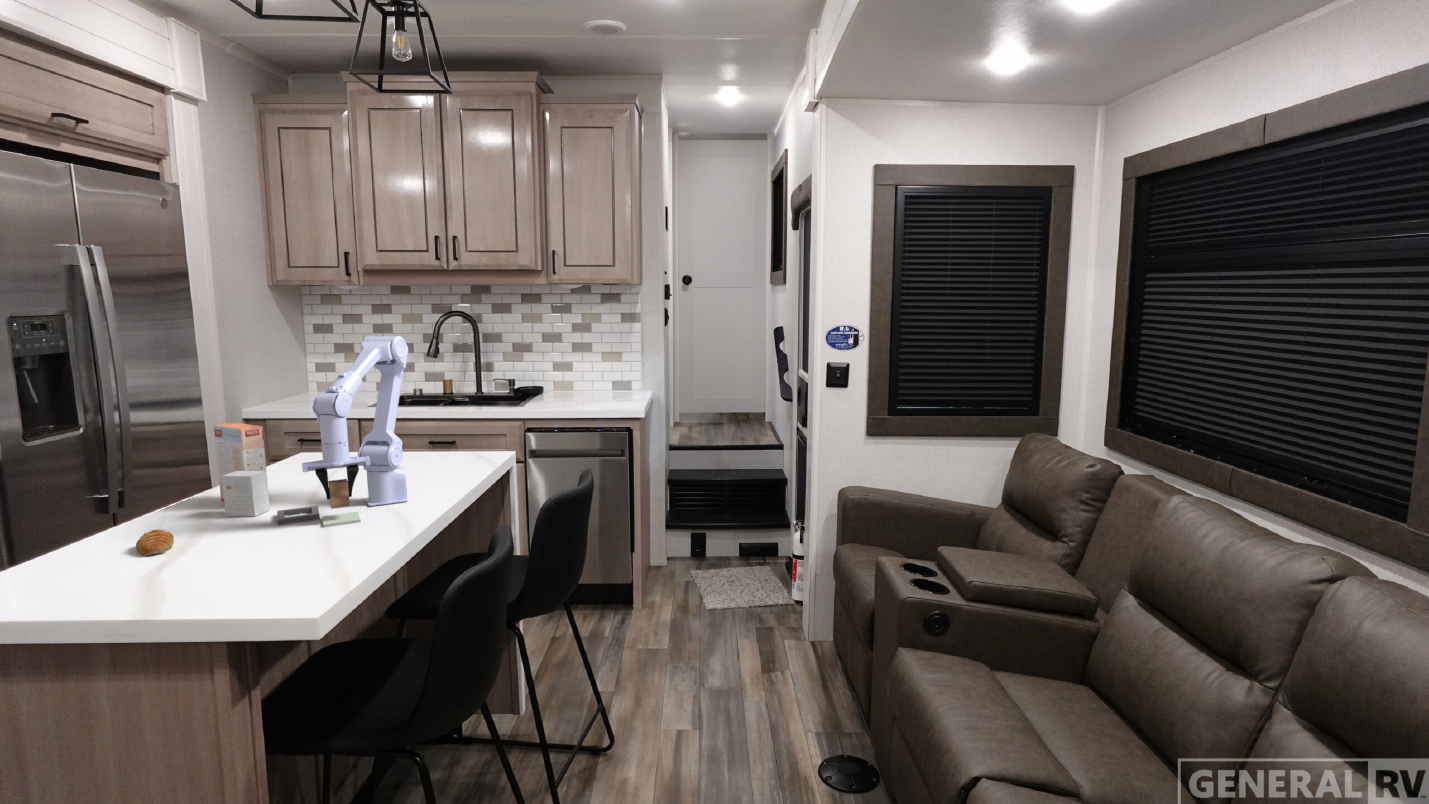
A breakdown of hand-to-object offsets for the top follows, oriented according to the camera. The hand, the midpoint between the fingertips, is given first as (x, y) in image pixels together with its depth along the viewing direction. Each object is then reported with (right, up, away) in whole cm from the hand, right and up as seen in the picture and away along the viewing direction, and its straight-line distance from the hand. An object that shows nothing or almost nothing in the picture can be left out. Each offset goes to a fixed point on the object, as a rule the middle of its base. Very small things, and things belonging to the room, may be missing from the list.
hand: (339, 497), depth 182 cm
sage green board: (0, -6, +1) cm, 6 cm away
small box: (-27, -5, +7) cm, 28 cm away
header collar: (-12, -5, +4) cm, 14 cm away
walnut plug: (0, -2, 0) cm, 2 cm away
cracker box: (-34, -4, +18) cm, 39 cm away
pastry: (-30, -9, -19) cm, 37 cm away
